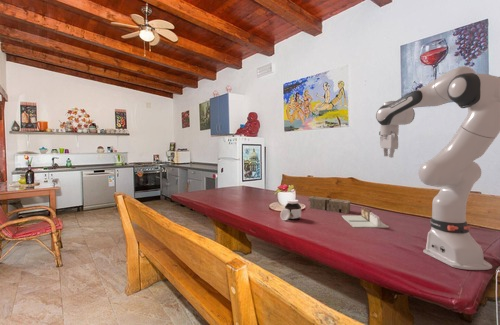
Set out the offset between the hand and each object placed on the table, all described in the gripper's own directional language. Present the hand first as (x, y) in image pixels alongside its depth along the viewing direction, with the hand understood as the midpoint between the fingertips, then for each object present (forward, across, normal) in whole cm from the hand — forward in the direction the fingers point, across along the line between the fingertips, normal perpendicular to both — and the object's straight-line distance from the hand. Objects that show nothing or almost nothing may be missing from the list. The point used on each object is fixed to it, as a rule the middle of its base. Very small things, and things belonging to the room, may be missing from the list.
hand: (388, 156), depth 145 cm
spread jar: (+40, +5, +54) cm, 67 cm away
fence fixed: (+39, +11, +8) cm, 42 cm away
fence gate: (+38, -1, +6) cm, 38 cm away
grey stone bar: (+41, +34, +28) cm, 60 cm away
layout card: (+39, +6, +11) cm, 41 cm away
